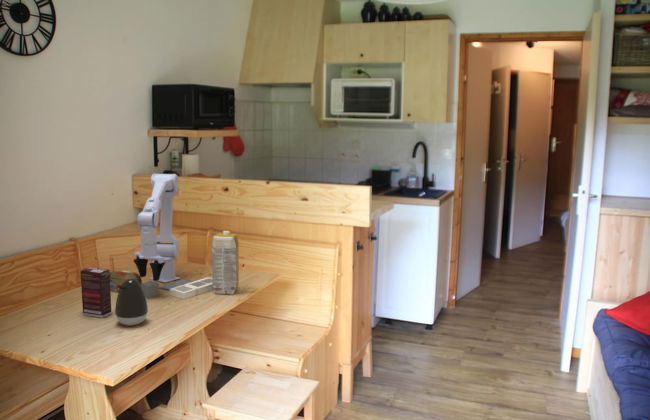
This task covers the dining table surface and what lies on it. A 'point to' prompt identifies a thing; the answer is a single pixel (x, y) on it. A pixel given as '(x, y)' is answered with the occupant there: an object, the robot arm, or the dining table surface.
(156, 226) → the robot arm
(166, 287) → the phone
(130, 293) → the black egg-shaped piece
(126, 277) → the tin
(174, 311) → the dining table surface
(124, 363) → the dining table surface
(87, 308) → the supplement box
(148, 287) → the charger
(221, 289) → the juice carton
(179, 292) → the outlet strip
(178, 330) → the dining table surface
